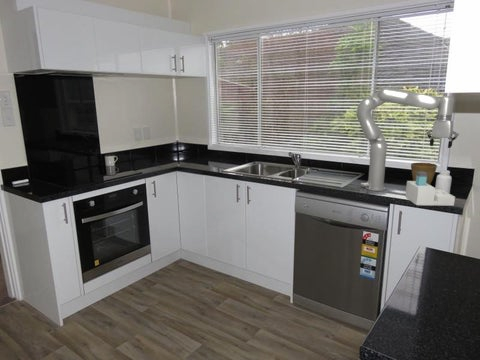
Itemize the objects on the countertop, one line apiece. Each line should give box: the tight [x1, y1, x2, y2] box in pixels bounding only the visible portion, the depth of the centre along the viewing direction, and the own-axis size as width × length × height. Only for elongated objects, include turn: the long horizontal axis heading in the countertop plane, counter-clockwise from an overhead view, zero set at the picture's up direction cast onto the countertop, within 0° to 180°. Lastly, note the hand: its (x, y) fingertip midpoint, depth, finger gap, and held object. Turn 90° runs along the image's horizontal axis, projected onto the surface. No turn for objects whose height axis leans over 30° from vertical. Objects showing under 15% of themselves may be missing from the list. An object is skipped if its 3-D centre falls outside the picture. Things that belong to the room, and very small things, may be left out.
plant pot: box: [410, 162, 438, 185], centre depth 226 cm, size 15×15×16 cm
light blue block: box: [416, 172, 427, 186], centre depth 198 cm, size 4×4×11 cm
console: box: [405, 180, 456, 206], centre depth 199 cm, size 20×16×10 cm
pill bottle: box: [434, 169, 453, 194], centre depth 211 cm, size 8×8×15 cm
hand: (440, 146), depth 207 cm, fingers open, 9 cm apart
